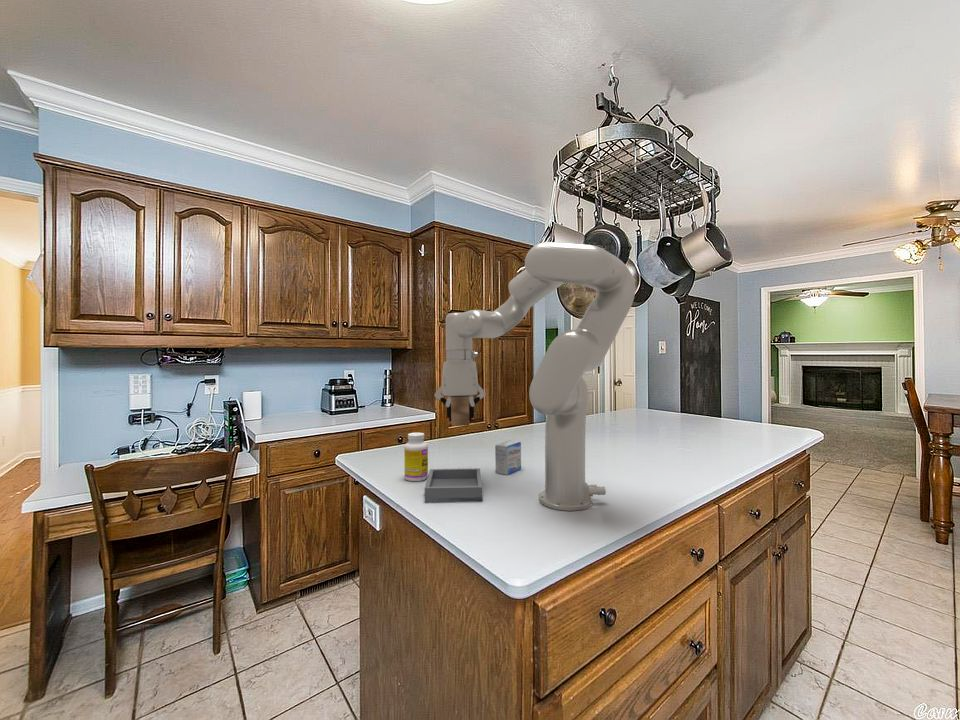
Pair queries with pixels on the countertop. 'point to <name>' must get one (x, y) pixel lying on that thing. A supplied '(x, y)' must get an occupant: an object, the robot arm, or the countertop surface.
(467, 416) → the walnut block
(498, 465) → the medicine box
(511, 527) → the countertop surface
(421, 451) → the supplement bottle
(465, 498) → the tray
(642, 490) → the countertop surface
